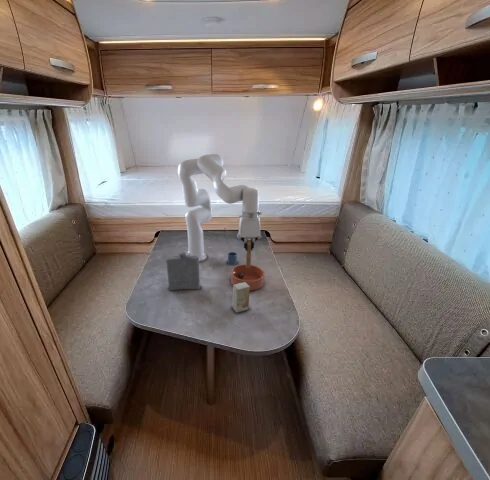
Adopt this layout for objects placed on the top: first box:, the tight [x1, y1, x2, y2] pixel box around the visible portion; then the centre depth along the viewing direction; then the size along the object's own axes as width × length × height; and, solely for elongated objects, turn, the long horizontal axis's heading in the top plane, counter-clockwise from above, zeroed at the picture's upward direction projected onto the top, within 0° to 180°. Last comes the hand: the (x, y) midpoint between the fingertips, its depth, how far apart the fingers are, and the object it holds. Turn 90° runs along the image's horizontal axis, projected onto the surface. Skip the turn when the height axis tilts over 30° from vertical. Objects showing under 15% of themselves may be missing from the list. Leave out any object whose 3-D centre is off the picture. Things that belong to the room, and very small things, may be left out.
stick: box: [245, 237, 252, 268], centre depth 134 cm, size 2×2×16 cm
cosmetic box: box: [231, 282, 251, 313], centre depth 119 cm, size 6×4×12 cm
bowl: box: [230, 264, 265, 291], centre depth 140 cm, size 17×17×6 cm
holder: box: [227, 251, 238, 265], centre depth 160 cm, size 5×6×6 cm
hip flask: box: [165, 250, 201, 291], centre depth 134 cm, size 16×4×20 cm, turn 92°
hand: (248, 249), depth 133 cm, fingers closed on stick, 2 cm apart
